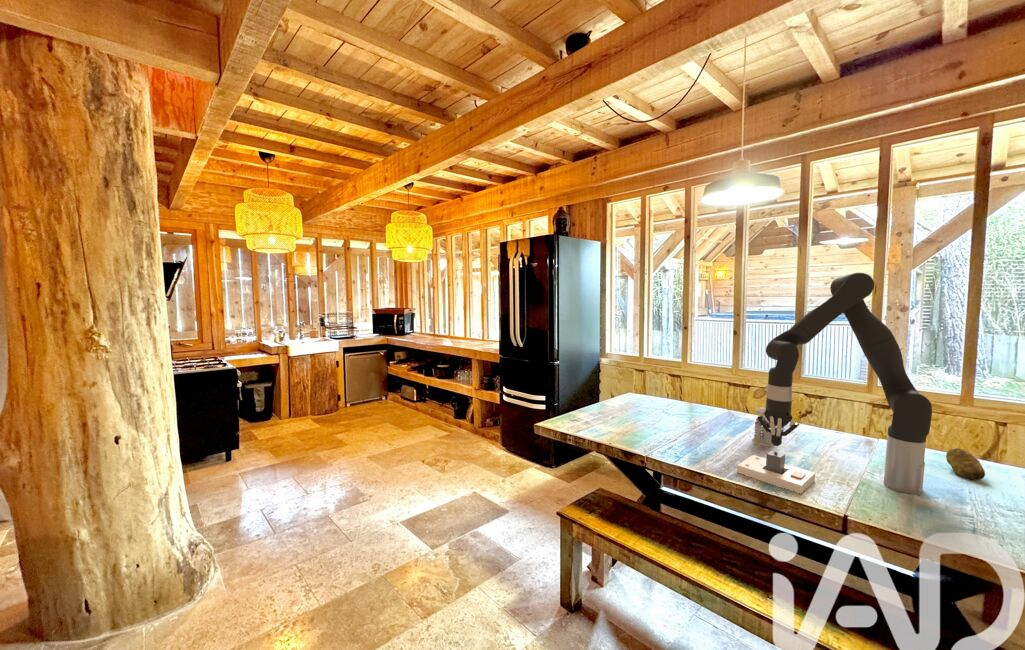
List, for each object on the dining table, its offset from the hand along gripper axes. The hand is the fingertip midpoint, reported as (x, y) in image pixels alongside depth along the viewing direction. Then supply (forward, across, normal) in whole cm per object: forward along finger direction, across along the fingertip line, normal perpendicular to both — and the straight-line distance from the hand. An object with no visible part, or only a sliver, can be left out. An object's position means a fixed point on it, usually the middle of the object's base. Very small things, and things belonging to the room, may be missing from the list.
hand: (776, 445), depth 145 cm
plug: (+11, 0, 0) cm, 11 cm away
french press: (+12, +15, -32) cm, 37 cm away
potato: (+12, -42, -54) cm, 70 cm away
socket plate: (+12, 0, 0) cm, 12 cm away
